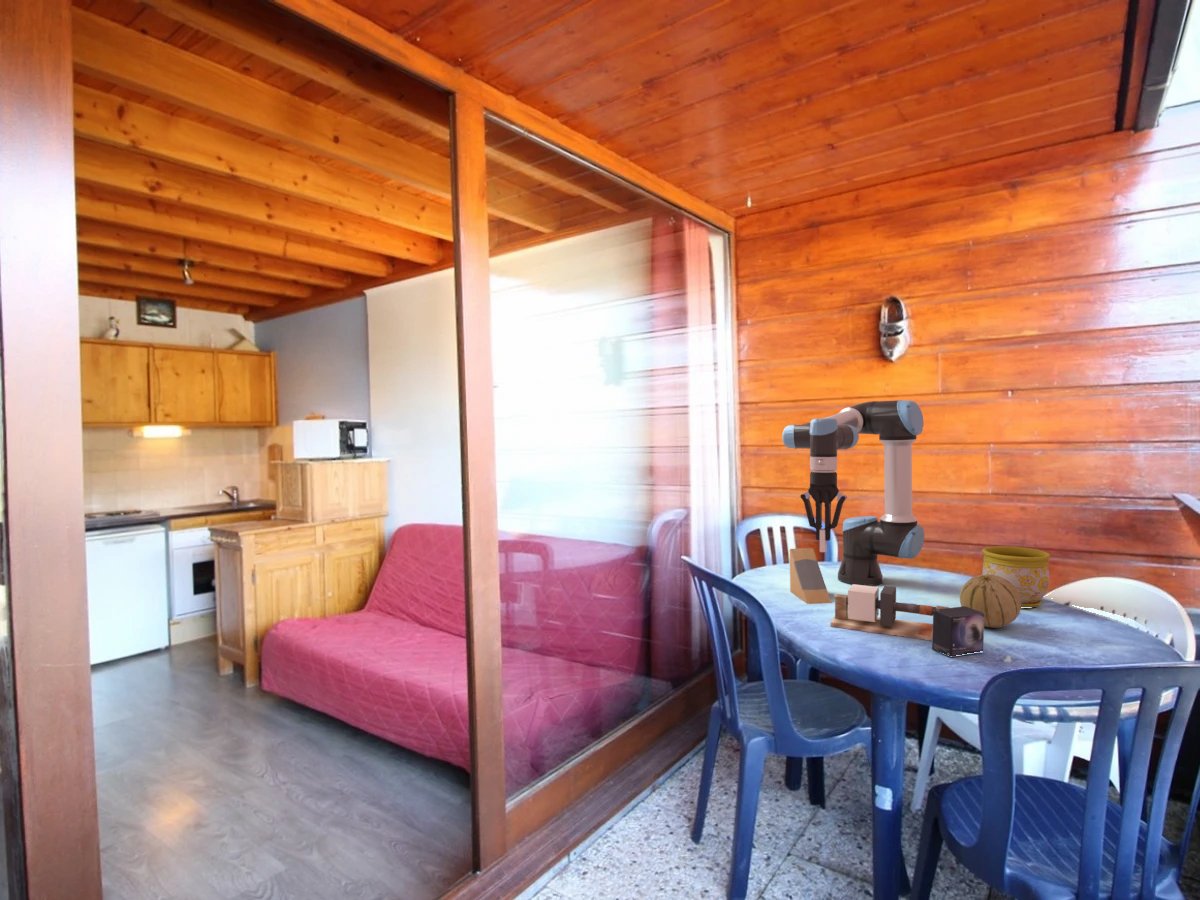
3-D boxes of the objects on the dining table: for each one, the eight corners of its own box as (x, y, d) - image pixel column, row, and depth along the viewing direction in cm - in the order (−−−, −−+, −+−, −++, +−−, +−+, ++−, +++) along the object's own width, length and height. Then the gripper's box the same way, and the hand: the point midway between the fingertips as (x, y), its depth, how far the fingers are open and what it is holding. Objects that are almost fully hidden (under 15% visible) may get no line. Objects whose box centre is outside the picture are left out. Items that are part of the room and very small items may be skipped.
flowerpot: (1038, 615, 191) (1039, 560, 190) (972, 602, 204) (972, 551, 204) (1057, 603, 202) (1058, 551, 201) (994, 592, 216) (994, 543, 215)
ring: (880, 625, 178) (880, 593, 178) (884, 616, 186) (884, 585, 186) (892, 626, 177) (892, 594, 176) (895, 617, 185) (896, 586, 184)
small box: (951, 658, 159) (951, 616, 158) (930, 649, 165) (931, 609, 164) (985, 653, 162) (985, 612, 161) (963, 645, 168) (964, 605, 167)
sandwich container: (806, 604, 206) (806, 558, 206) (789, 591, 222) (789, 548, 221) (832, 603, 207) (832, 557, 206) (813, 590, 222) (813, 547, 221)
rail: (830, 626, 184) (830, 599, 184) (837, 615, 194) (837, 590, 193) (949, 643, 169) (950, 614, 169) (951, 631, 178) (951, 603, 178)
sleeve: (848, 618, 183) (848, 590, 183) (852, 611, 190) (853, 584, 190) (874, 622, 180) (874, 593, 179) (878, 614, 186) (878, 586, 186)
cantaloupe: (1019, 622, 184) (1020, 570, 184) (1022, 638, 172) (1023, 582, 171) (960, 615, 192) (960, 565, 191) (958, 629, 179) (959, 576, 179)
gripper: (797, 471, 188) (797, 551, 189) (844, 472, 182) (844, 555, 183) (803, 469, 195) (803, 547, 196) (849, 470, 188) (848, 551, 189)
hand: (823, 551), depth 189 cm, fingers closed
